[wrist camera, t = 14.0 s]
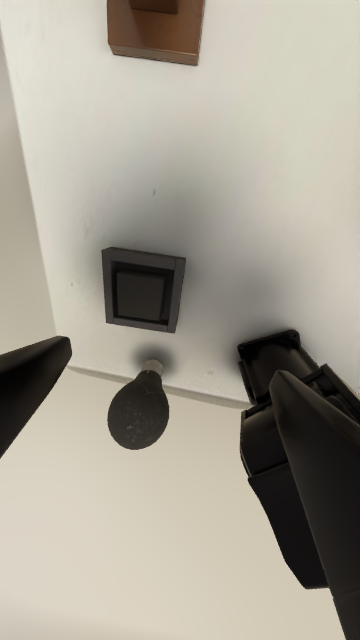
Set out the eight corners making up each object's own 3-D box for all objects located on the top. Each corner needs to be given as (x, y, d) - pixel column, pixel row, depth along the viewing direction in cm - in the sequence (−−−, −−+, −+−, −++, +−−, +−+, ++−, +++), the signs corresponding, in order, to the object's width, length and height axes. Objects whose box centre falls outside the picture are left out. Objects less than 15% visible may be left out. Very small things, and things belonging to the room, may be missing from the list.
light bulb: (128, 346, 23) (85, 422, 14) (173, 343, 22) (157, 422, 13) (138, 379, 25) (107, 463, 16) (178, 378, 25) (168, 464, 16)
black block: (162, 312, 19) (159, 321, 17) (125, 306, 19) (117, 315, 17) (166, 274, 17) (162, 280, 16) (124, 268, 17) (116, 273, 16)
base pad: (186, 257, 18) (184, 262, 16) (176, 323, 21) (174, 334, 19) (111, 246, 18) (101, 249, 16) (114, 314, 21) (105, 323, 19)
